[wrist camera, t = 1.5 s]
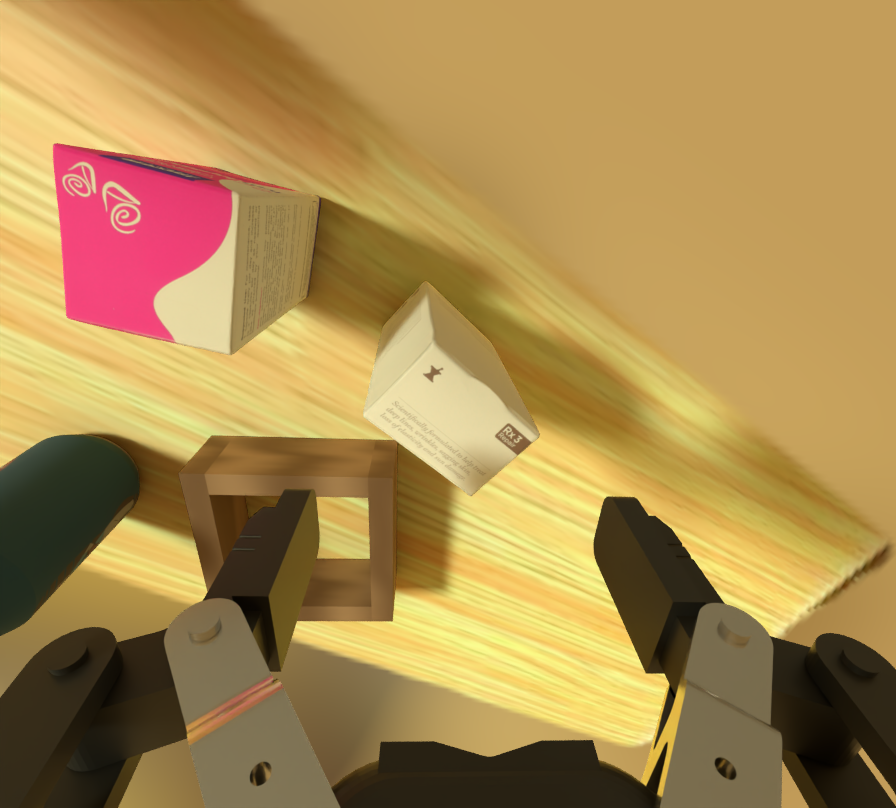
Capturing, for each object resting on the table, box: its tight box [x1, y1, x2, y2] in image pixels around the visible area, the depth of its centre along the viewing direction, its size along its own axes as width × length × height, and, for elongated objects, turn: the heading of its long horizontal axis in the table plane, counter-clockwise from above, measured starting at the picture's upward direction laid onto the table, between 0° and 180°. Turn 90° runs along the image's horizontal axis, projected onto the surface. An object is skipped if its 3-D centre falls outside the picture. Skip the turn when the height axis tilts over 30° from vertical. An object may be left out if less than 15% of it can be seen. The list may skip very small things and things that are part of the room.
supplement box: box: [53, 143, 321, 355], centre depth 20 cm, size 6×6×12 cm
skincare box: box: [363, 281, 540, 496], centre depth 23 cm, size 6×4×12 cm
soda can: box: [0, 435, 140, 636], centre depth 26 cm, size 7×7×12 cm
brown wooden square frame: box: [178, 436, 397, 621], centre depth 31 cm, size 13×13×4 cm
